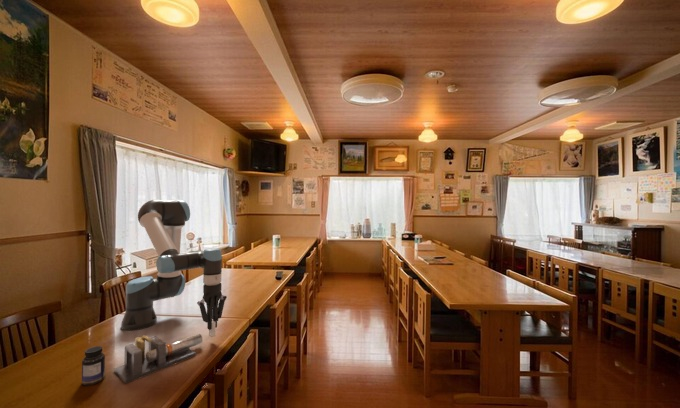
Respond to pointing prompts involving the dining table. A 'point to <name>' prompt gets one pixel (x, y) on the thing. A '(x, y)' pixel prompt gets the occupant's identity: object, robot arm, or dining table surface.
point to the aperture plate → (142, 344)
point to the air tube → (176, 347)
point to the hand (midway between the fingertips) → (212, 335)
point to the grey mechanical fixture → (141, 368)
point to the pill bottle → (93, 366)
